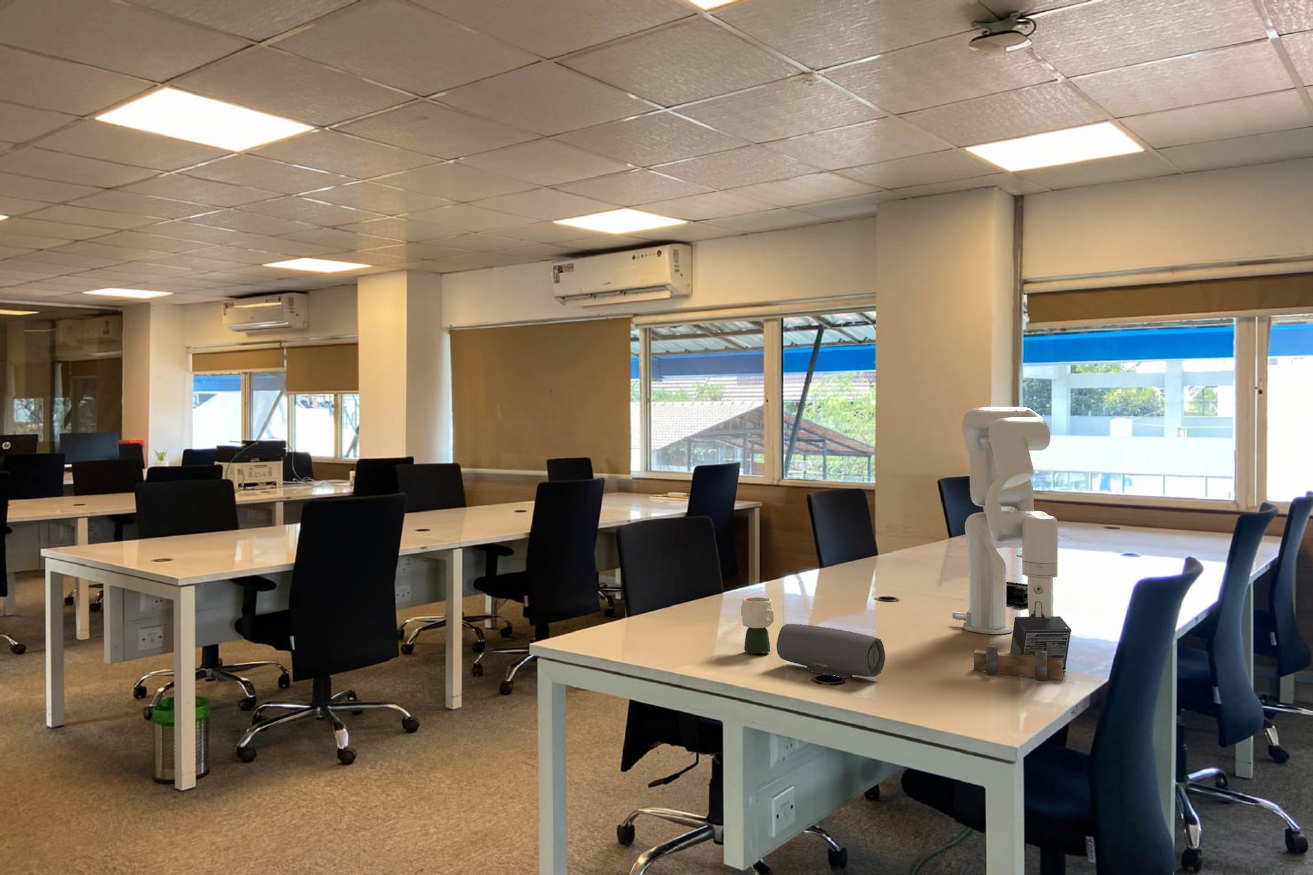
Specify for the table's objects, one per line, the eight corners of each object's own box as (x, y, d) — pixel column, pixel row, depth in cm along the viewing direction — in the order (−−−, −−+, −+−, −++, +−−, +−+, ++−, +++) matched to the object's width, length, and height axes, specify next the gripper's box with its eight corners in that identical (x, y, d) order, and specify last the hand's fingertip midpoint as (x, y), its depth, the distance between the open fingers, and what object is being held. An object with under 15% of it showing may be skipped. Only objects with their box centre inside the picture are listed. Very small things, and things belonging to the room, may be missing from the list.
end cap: (1037, 605, 278) (1037, 583, 278) (1026, 608, 273) (1026, 586, 273) (1006, 601, 285) (1006, 579, 285) (995, 604, 281) (995, 582, 280)
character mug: (783, 655, 217) (783, 600, 217) (762, 659, 213) (762, 604, 213) (752, 646, 226) (752, 594, 226) (731, 650, 221) (730, 597, 221)
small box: (1054, 654, 208) (1060, 614, 204) (1066, 671, 202) (1073, 630, 198) (1008, 654, 208) (1014, 614, 204) (1018, 671, 202) (1025, 630, 198)
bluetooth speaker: (886, 678, 197) (886, 632, 197) (865, 687, 190) (865, 639, 190) (797, 660, 212) (797, 618, 212) (775, 668, 205) (775, 624, 205)
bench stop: (972, 672, 200) (972, 645, 200) (975, 667, 205) (975, 640, 205) (1061, 683, 192) (1061, 654, 192) (1062, 676, 197) (1062, 649, 197)
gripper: (1056, 575, 200) (1055, 657, 200) (1058, 565, 213) (1058, 642, 214) (1019, 572, 203) (1019, 654, 203) (1024, 563, 217) (1024, 639, 217)
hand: (1039, 648), depth 209 cm, fingers closed
